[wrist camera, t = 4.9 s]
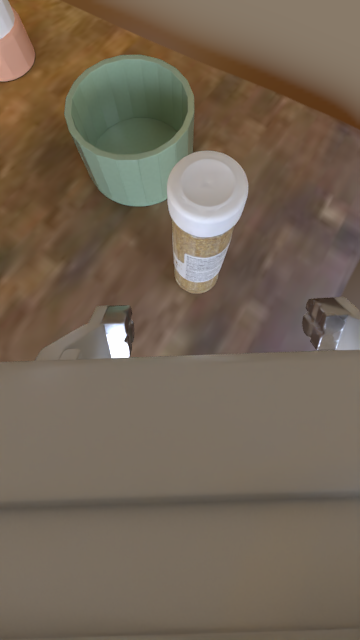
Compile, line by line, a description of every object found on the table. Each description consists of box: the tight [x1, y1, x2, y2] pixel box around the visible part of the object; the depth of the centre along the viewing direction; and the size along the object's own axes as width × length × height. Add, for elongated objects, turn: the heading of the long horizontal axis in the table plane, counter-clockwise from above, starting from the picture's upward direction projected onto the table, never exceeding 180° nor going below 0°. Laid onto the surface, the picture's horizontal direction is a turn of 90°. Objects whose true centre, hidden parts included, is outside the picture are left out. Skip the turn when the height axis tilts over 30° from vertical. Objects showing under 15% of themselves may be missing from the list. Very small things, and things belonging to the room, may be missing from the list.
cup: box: [64, 55, 194, 207], centre depth 28 cm, size 12×12×6 cm
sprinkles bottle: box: [167, 151, 248, 293], centre depth 21 cm, size 5×5×14 cm
